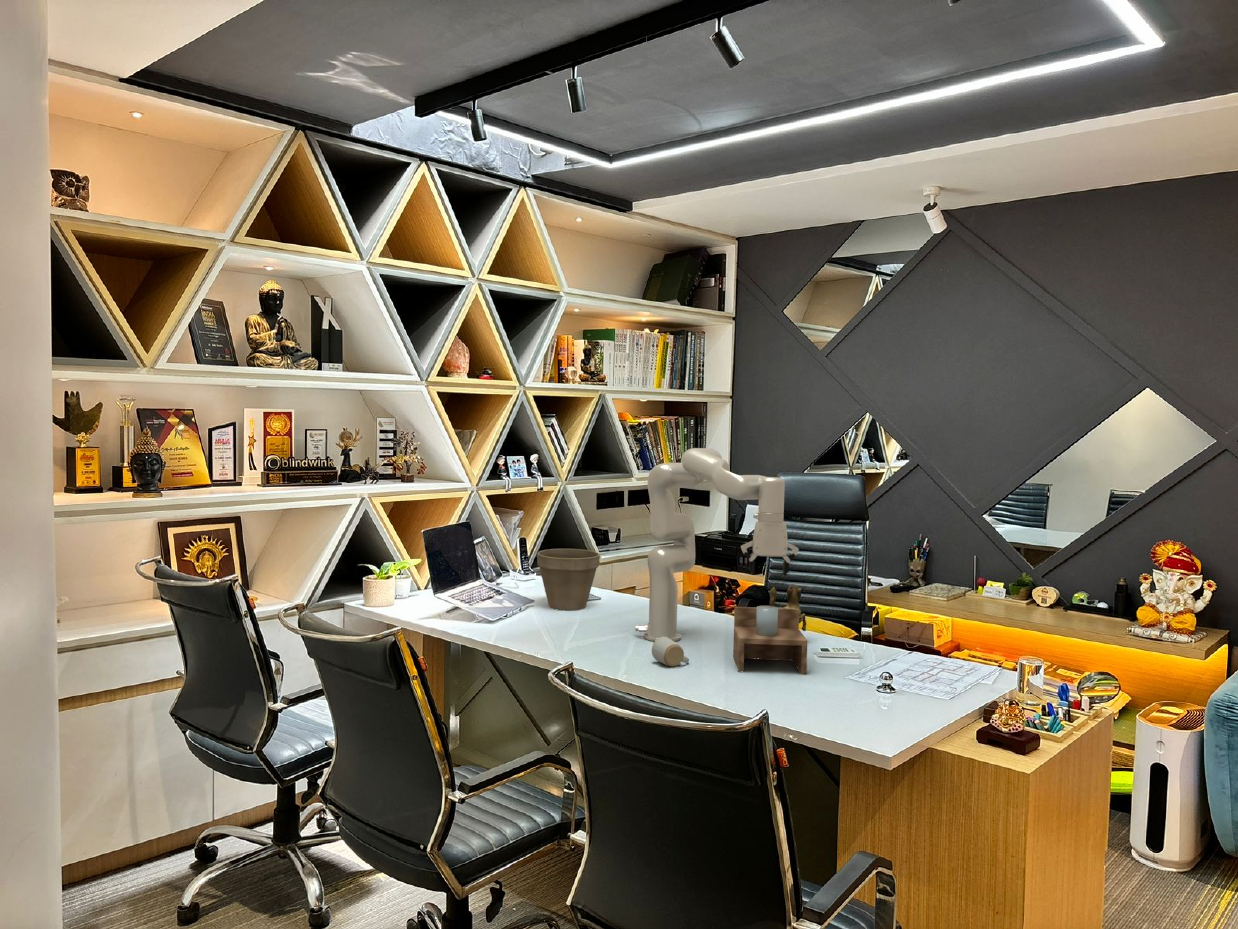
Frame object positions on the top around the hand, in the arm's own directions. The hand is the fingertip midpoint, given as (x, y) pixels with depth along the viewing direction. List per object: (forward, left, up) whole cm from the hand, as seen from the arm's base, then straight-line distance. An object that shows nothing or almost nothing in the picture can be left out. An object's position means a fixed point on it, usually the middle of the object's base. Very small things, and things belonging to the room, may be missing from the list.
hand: (768, 574), depth 274 cm
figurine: (+9, +30, -28) cm, 42 cm away
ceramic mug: (-28, 0, -28) cm, 40 cm away
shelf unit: (+1, +1, -28) cm, 28 cm away
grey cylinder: (0, 0, -18) cm, 18 cm away
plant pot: (-68, +81, -28) cm, 109 cm away
